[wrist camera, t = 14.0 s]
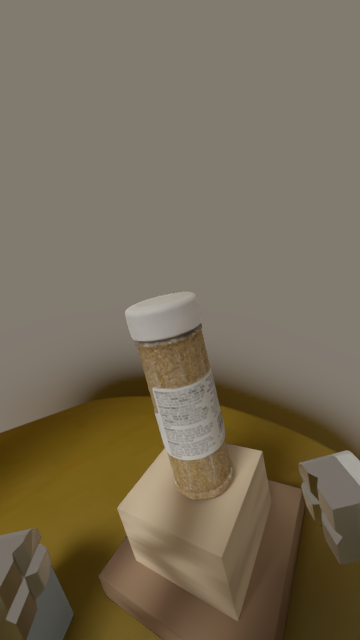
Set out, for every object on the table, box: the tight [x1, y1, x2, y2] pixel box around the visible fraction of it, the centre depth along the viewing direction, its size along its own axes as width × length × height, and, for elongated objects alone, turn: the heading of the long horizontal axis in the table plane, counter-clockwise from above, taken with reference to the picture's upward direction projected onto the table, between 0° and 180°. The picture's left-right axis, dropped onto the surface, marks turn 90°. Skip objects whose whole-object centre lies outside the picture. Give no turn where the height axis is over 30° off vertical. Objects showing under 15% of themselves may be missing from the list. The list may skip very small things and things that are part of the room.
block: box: [26, 566, 74, 640], centre depth 17 cm, size 5×5×5 cm
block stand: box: [98, 443, 305, 640], centre depth 21 cm, size 12×12×7 cm
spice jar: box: [125, 292, 234, 500], centre depth 18 cm, size 5×5×13 cm
